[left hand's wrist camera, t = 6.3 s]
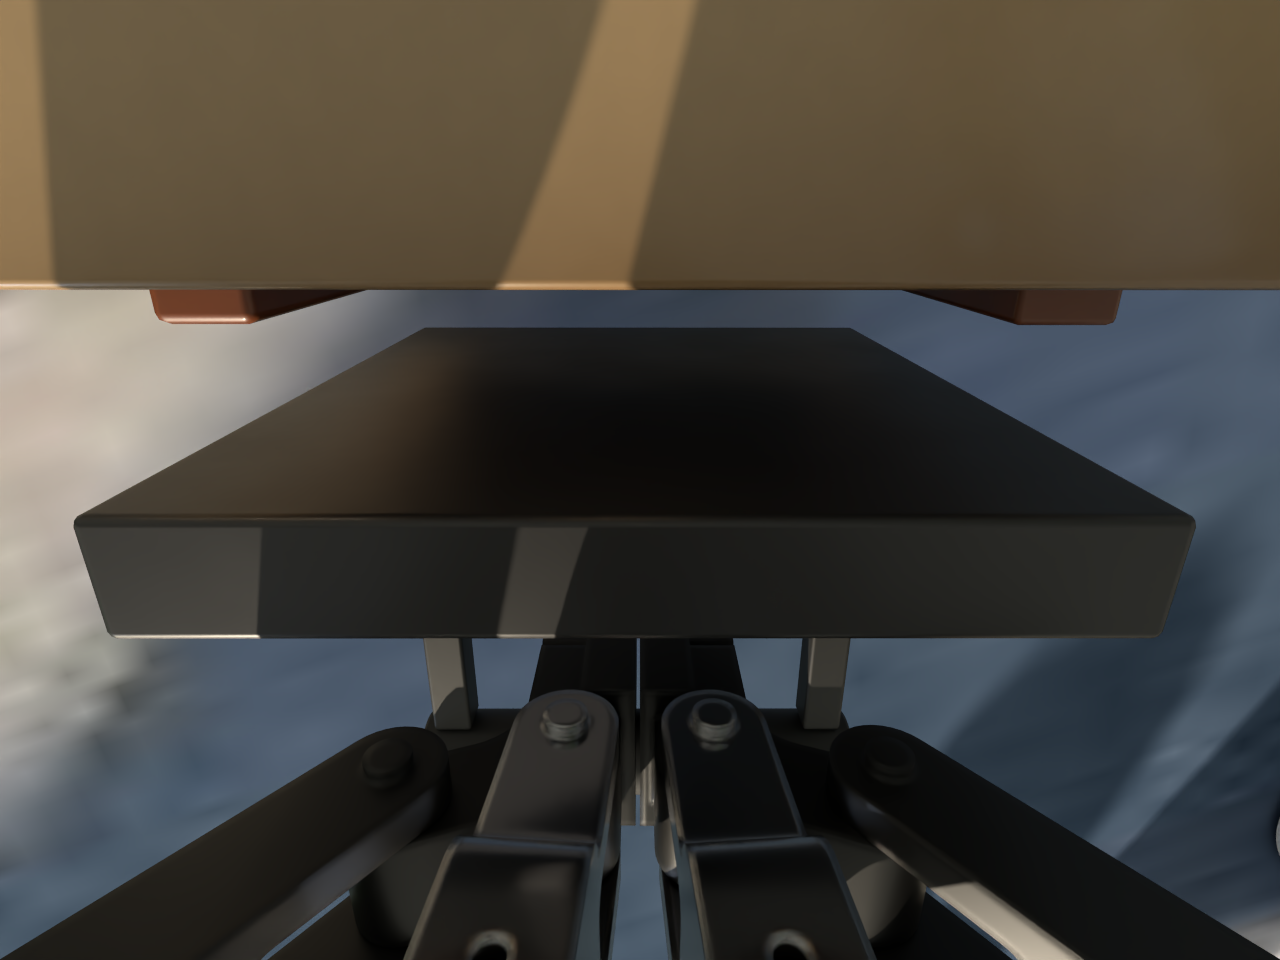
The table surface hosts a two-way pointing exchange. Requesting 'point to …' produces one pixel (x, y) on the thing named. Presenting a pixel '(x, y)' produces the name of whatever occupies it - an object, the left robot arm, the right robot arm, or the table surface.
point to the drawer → (635, 504)
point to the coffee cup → (1278, 836)
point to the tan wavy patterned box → (639, 144)
